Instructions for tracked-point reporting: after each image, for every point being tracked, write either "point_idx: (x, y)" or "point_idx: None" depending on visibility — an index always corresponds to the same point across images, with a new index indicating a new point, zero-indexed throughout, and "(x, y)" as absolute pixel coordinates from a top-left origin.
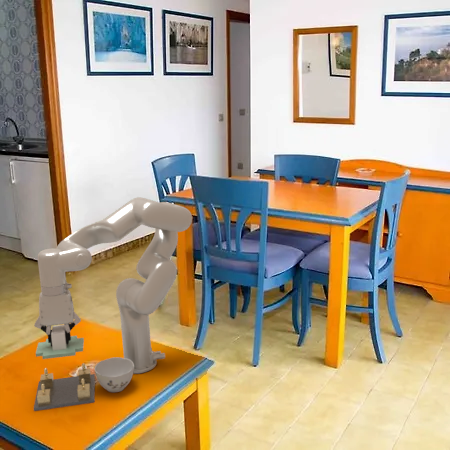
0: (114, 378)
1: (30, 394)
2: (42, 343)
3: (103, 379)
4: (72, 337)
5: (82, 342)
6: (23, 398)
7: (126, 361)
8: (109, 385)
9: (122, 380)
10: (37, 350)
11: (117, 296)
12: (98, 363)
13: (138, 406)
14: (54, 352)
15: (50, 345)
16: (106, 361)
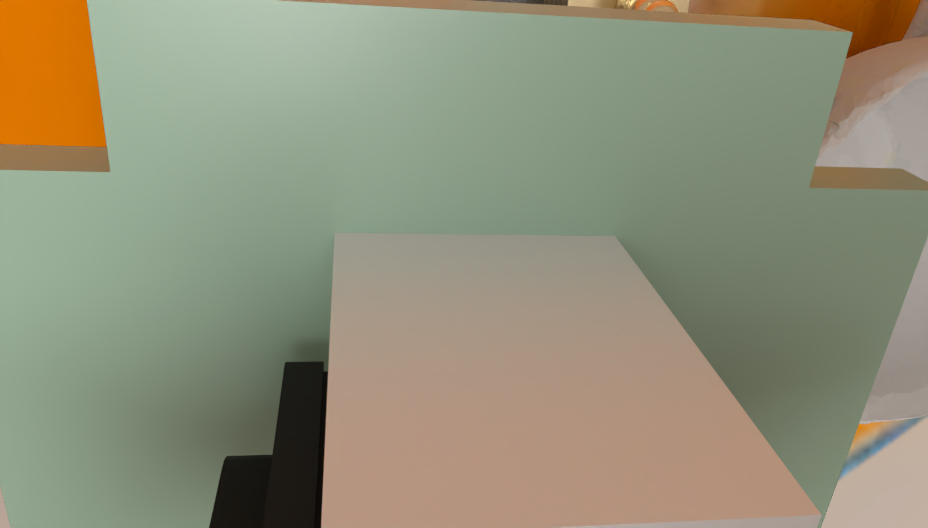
0: (873, 407)
1: (58, 54)
2: (48, 240)
3: None
4: (739, 108)
5: (863, 381)
6: (5, 110)
7: None
8: None
9: (915, 364)
10: (28, 512)
11: None
12: (832, 145)
13: (871, 425)
14: None
15: (263, 372)
16: (925, 66)
